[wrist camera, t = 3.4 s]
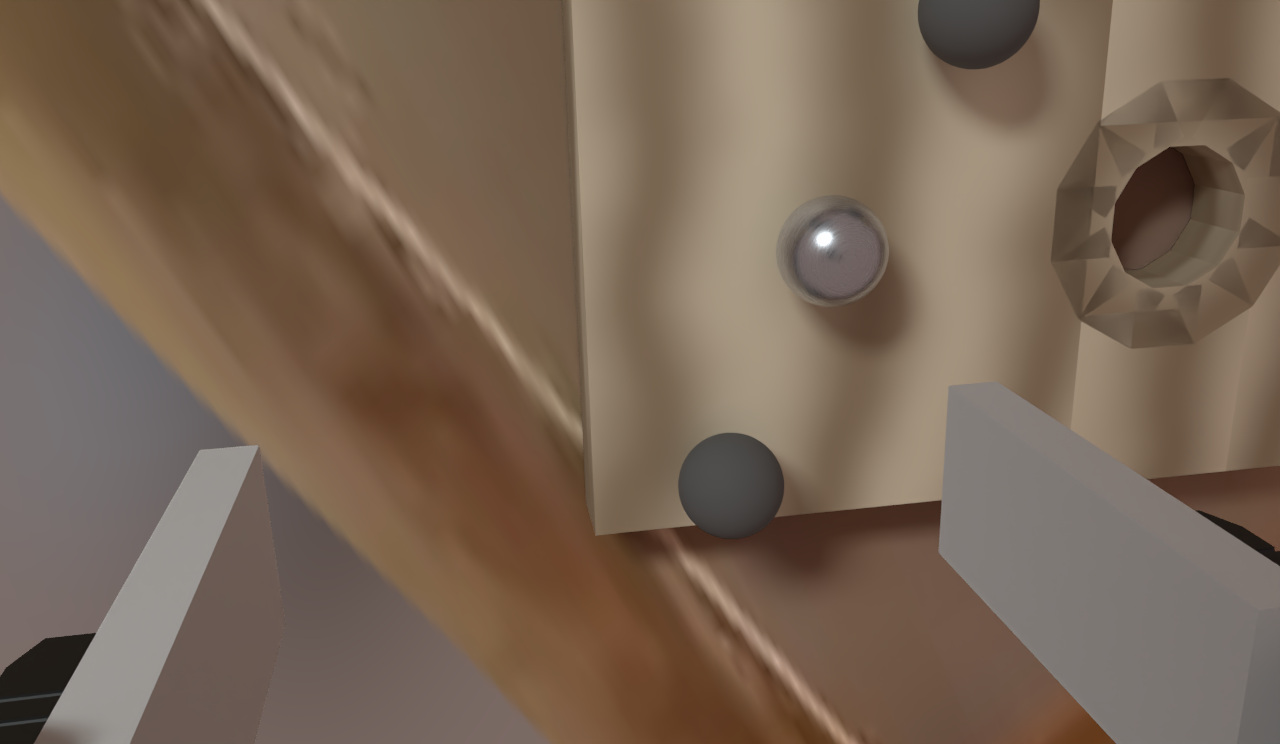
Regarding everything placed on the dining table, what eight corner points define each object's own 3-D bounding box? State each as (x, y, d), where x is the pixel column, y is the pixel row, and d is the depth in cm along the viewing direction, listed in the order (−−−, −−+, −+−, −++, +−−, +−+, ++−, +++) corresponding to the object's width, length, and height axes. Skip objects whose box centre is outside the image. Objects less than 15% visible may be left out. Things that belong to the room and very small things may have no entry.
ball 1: (669, 516, 35) (691, 562, 32) (668, 422, 34) (689, 461, 31) (767, 506, 36) (796, 551, 33) (768, 413, 35) (798, 451, 32)
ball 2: (897, 69, 32) (944, 74, 29) (902, -49, 31) (951, -57, 28) (1000, 65, 32) (1057, 69, 29) (1008, -51, 32) (1068, -59, 28)
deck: (586, 502, 37) (595, 535, 35) (558, -71, 32) (567, -78, 29) (1278, 435, 41) (1328, 460, 39) (1361, -85, 36) (1426, -93, 33)
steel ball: (762, 296, 33) (794, 323, 30) (763, 190, 32) (795, 208, 29) (863, 289, 34) (904, 315, 31) (866, 184, 33) (909, 201, 30)
